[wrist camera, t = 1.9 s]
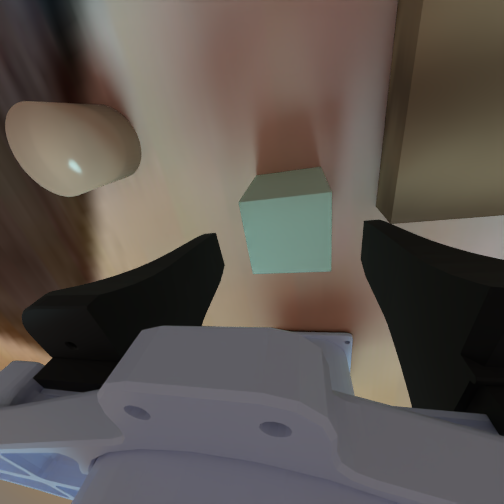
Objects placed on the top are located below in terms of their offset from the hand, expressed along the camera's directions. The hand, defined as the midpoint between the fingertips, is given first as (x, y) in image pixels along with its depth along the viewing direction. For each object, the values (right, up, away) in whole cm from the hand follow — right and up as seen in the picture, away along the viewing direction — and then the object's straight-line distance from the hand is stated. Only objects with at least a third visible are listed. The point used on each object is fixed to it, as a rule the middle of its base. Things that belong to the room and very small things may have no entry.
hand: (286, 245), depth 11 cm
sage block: (+1, +3, +6) cm, 7 cm away
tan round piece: (-12, +8, +6) cm, 16 cm away
